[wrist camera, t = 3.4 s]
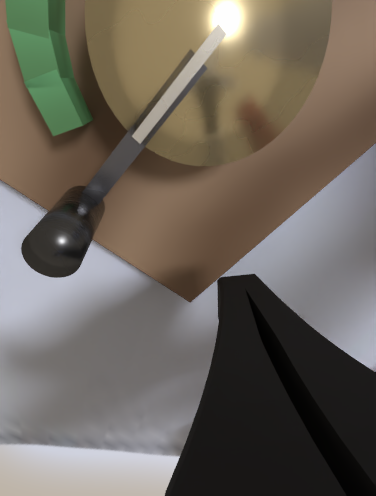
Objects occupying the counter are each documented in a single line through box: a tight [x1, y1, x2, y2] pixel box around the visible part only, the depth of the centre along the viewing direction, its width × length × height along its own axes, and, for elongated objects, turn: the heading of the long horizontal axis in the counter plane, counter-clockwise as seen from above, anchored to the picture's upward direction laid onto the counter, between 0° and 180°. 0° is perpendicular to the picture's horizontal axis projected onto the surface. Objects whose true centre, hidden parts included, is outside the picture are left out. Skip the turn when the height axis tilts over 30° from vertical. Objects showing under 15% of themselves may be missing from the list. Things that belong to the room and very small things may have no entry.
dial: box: [21, 0, 332, 277], centre depth 7 cm, size 10×6×3 cm, turn 137°
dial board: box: [0, 0, 376, 302], centre depth 9 cm, size 14×16×3 cm
